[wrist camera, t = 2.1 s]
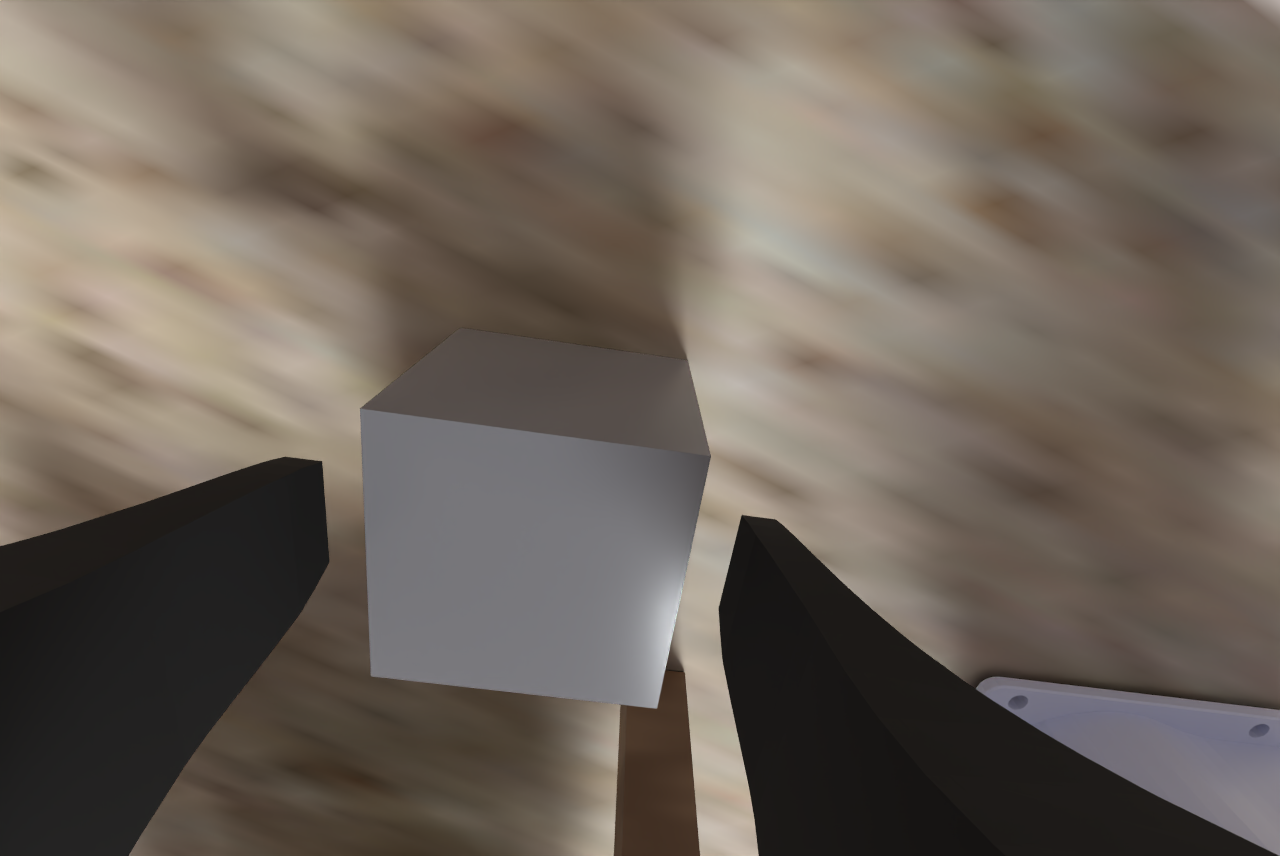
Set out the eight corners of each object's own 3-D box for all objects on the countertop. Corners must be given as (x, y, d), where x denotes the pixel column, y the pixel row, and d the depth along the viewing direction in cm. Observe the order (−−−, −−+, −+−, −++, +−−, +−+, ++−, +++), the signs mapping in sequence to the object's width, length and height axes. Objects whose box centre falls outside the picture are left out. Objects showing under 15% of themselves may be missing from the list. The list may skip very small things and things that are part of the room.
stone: (687, 359, 13) (711, 456, 9) (652, 546, 15) (657, 709, 10) (461, 326, 13) (360, 408, 8) (455, 521, 15) (370, 675, 10)
